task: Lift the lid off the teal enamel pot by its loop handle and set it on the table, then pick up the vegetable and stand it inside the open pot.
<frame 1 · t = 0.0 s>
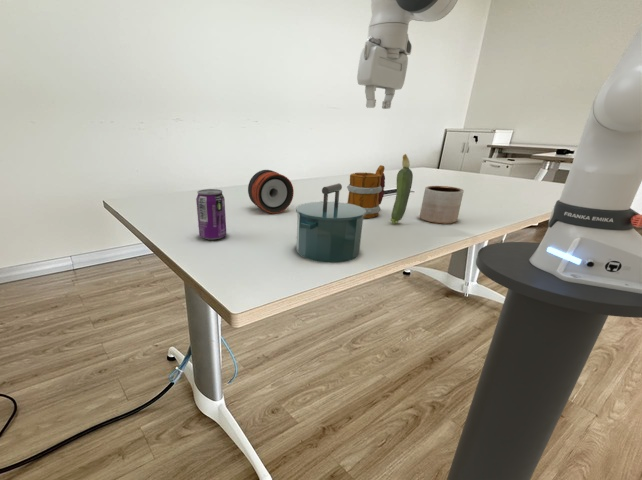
hand: (378, 108, 86), 31 cm above the table, tool pointing down, fingers open, 8 cm apart
lid: (330, 211, 78), point 9 cm above the table, touching pot
vegetable: (397, 224, 103), on the table
planter: (437, 220, 108), on the table
pot: (327, 251, 82), on the table
beverage can: (213, 237, 91), on the table
oil filter: (269, 210, 119), on the table
mug: (365, 213, 115), on the table
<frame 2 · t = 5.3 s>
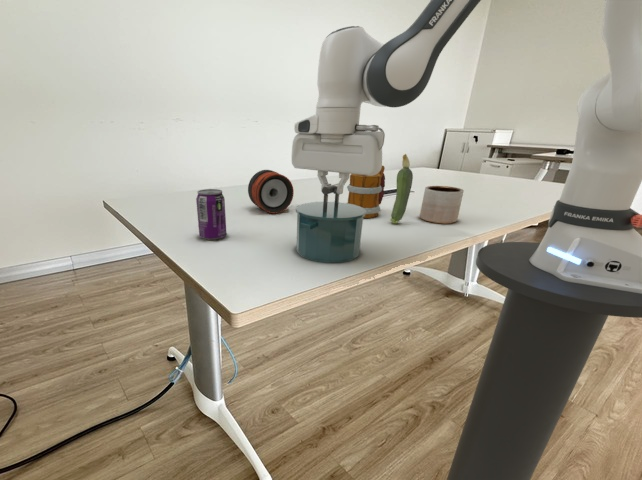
hand: (331, 192, 76), 14 cm above the table, tool pointing down, fingers closed on lid
lid: (330, 211, 78), point 10 cm above the table, touching gripper, pot
everything else where it was.
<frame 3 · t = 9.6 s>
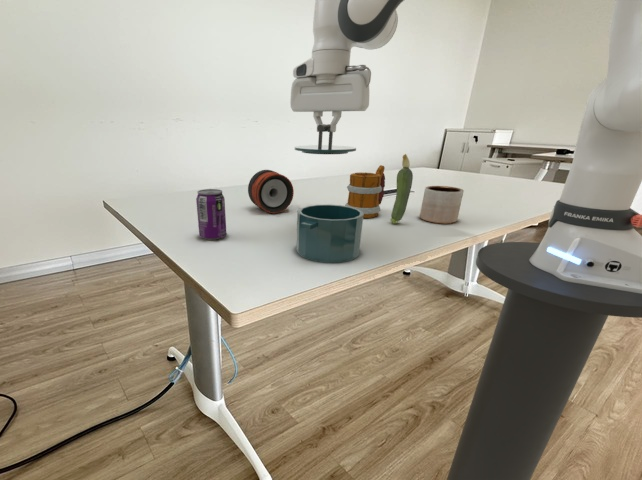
hand: (326, 132, 86), 26 cm above the table, tool pointing down, fingers closed on lid
lid: (324, 149, 88), point 21 cm above the table, touching gripper
everything else where it was.
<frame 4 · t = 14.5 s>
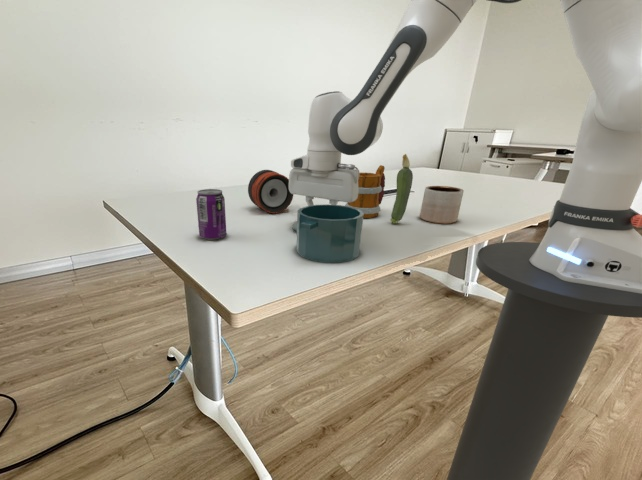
hand: (320, 214, 96), 4 cm above the table, tool pointing down, fingers open, 4 cm apart
lid: (319, 227, 97), point 1 cm above the table
everything else where it was.
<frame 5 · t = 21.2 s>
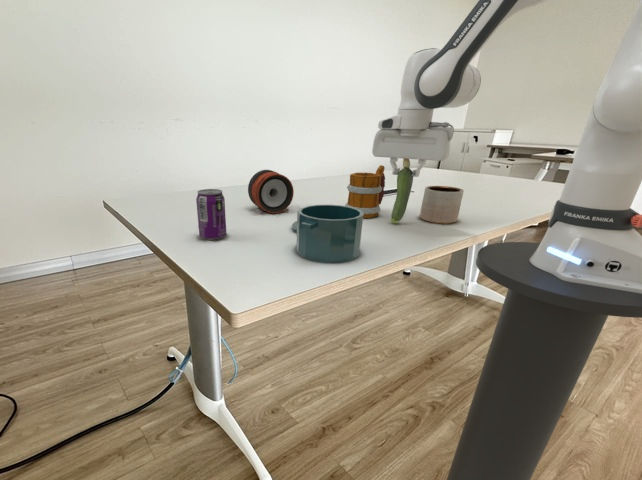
hand: (405, 175, 97), 14 cm above the table, tool pointing down, fingers closed on vegetable, 4 cm apart
vegetable: (397, 224, 103), on the table, touching gripper
everything else where it was.
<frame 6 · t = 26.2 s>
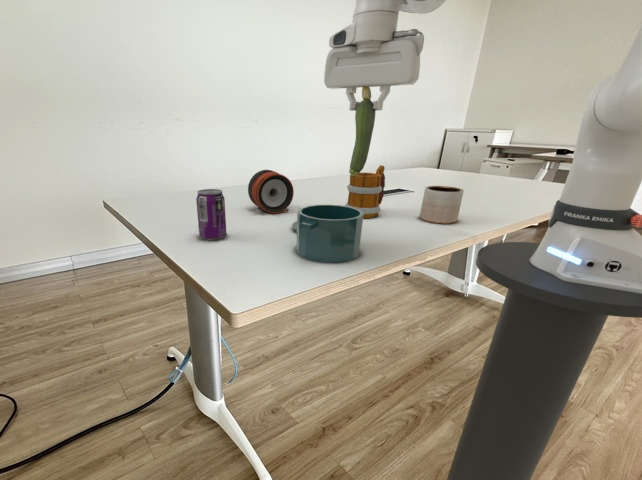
hand: (365, 110, 75), 30 cm above the table, tool pointing down, fingers closed on vegetable, 4 cm apart
vegetable: (357, 177, 82), point 16 cm above the table, touching gripper
everything else where it was.
when the fingers open (15 cm above the table, at t = 31.3 s): vegetable stays where it is, resting on pot.
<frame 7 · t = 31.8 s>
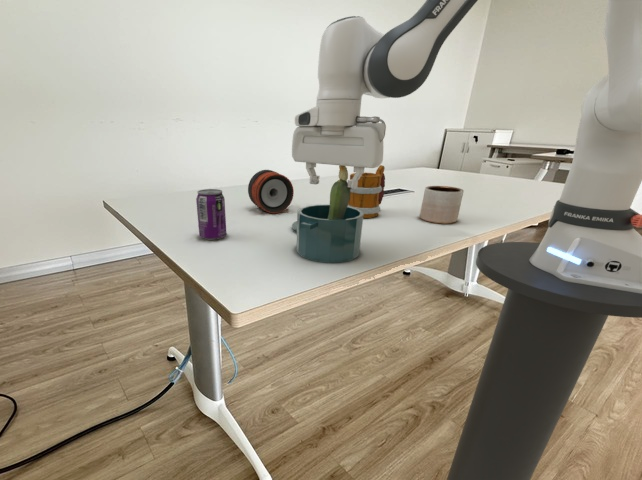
hand: (332, 186, 75), 15 cm above the table, tool pointing down, fingers open, 8 cm apart
vegetable: (326, 249, 82), resting on pot, touching gripper
everything else where it was.
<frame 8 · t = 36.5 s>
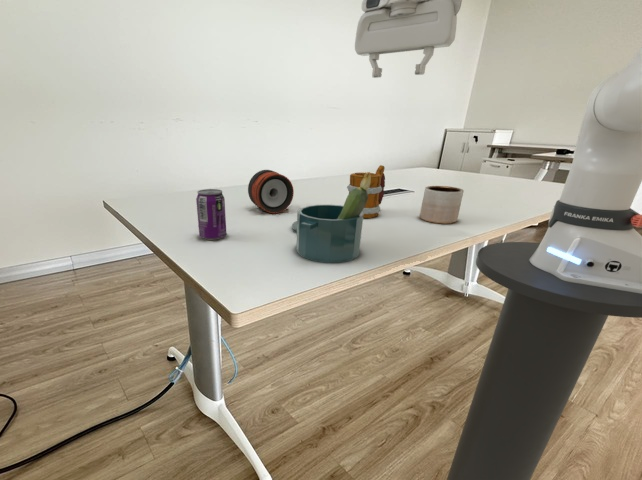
hand: (397, 76, 75), 37 cm above the table, tool pointing down, fingers open, 8 cm apart
vegetable: (326, 248, 82), resting on pot
everything else where it was.
at the end: vegetable inside the target area in the pot (0.3 cm from its centre), point 0.5 cm above the pot's base; lid inside the target area (0.0 cm from its centre), point 0.6 cm above the table; the gripper is holding nothing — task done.
